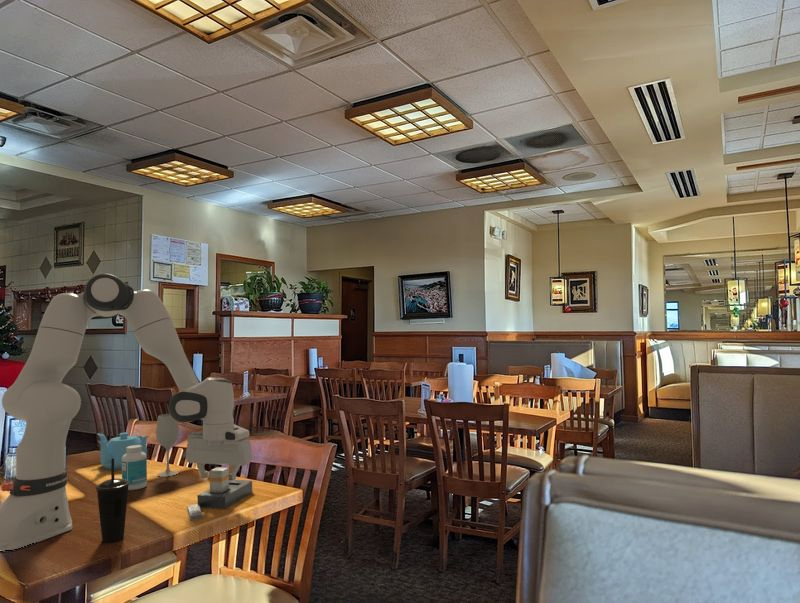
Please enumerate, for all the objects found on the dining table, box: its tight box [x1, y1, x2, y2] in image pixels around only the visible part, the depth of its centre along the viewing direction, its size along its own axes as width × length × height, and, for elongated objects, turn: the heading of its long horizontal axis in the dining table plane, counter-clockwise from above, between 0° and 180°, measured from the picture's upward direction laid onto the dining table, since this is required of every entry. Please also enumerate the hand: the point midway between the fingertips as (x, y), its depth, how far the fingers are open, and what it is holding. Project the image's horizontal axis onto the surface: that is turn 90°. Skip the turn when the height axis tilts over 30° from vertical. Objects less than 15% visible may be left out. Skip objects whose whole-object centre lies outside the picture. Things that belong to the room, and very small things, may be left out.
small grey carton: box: [208, 466, 230, 494], centre depth 166 cm, size 4×4×10 cm
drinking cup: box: [95, 459, 130, 544], centre depth 140 cm, size 8×8×20 cm
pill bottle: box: [121, 445, 148, 491], centre depth 184 cm, size 8×7×14 cm
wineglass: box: [155, 413, 180, 478], centre depth 199 cm, size 8×8×21 cm
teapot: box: [97, 432, 149, 471], centre depth 213 cm, size 17×19×12 cm
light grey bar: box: [186, 503, 203, 521], centre depth 157 cm, size 10×3×2 cm, turn 26°
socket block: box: [197, 479, 253, 510], centre depth 169 cm, size 16×9×4 cm, turn 167°
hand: (218, 478), depth 165 cm, fingers open, 8 cm apart
